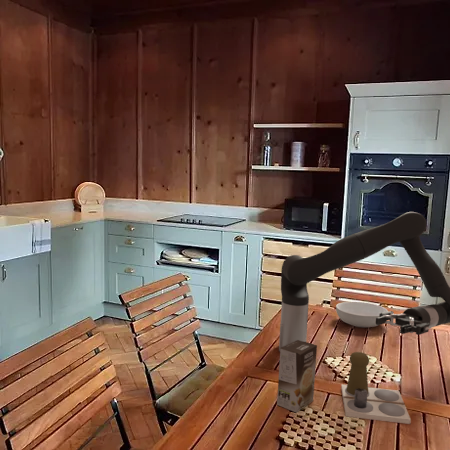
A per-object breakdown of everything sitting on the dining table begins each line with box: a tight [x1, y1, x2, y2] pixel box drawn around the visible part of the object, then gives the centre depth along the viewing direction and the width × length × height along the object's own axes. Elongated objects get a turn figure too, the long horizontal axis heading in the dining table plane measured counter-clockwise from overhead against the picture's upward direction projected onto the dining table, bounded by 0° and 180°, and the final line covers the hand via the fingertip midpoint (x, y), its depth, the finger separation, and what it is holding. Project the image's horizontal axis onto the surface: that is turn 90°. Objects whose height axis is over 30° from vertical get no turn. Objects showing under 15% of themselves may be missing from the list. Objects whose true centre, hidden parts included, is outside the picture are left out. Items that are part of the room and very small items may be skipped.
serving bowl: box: [335, 301, 389, 328], centre depth 197 cm, size 21×21×7 cm
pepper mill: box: [346, 351, 370, 395], centre depth 133 cm, size 6×6×11 cm
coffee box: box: [276, 340, 318, 413], centre depth 128 cm, size 9×6×16 cm
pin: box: [354, 388, 368, 409], centre depth 126 cm, size 3×3×4 cm
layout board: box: [340, 383, 412, 425], centre depth 129 cm, size 16×16×1 cm
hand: (388, 325), depth 141 cm, fingers open, 8 cm apart
